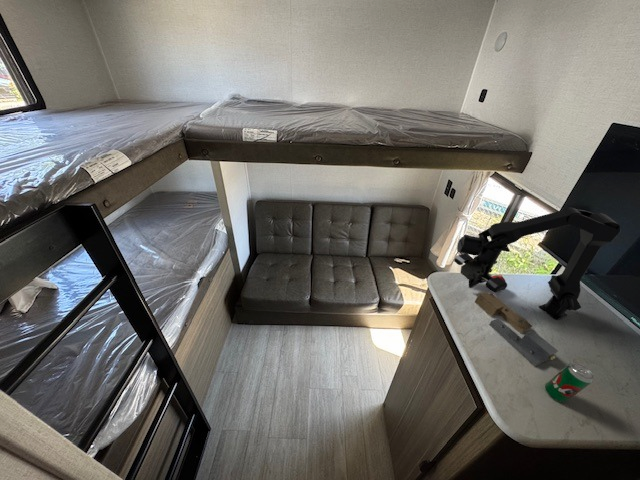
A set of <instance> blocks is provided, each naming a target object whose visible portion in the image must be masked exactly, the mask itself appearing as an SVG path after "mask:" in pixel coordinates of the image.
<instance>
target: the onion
mask: <svg viewBox="0 0 640 480" xmlns="http://www.w3.org/2000/svg"><path fill="white" fill-rule="evenodd" d="M496 277H499V278H501V279H502V280H503V281H505V282H506V283H507V281H506V279H505V278H504V277H503V275H502V274H501V273H500V274H499V275H498V274H495V275H492V278H496Z"/></svg>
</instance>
